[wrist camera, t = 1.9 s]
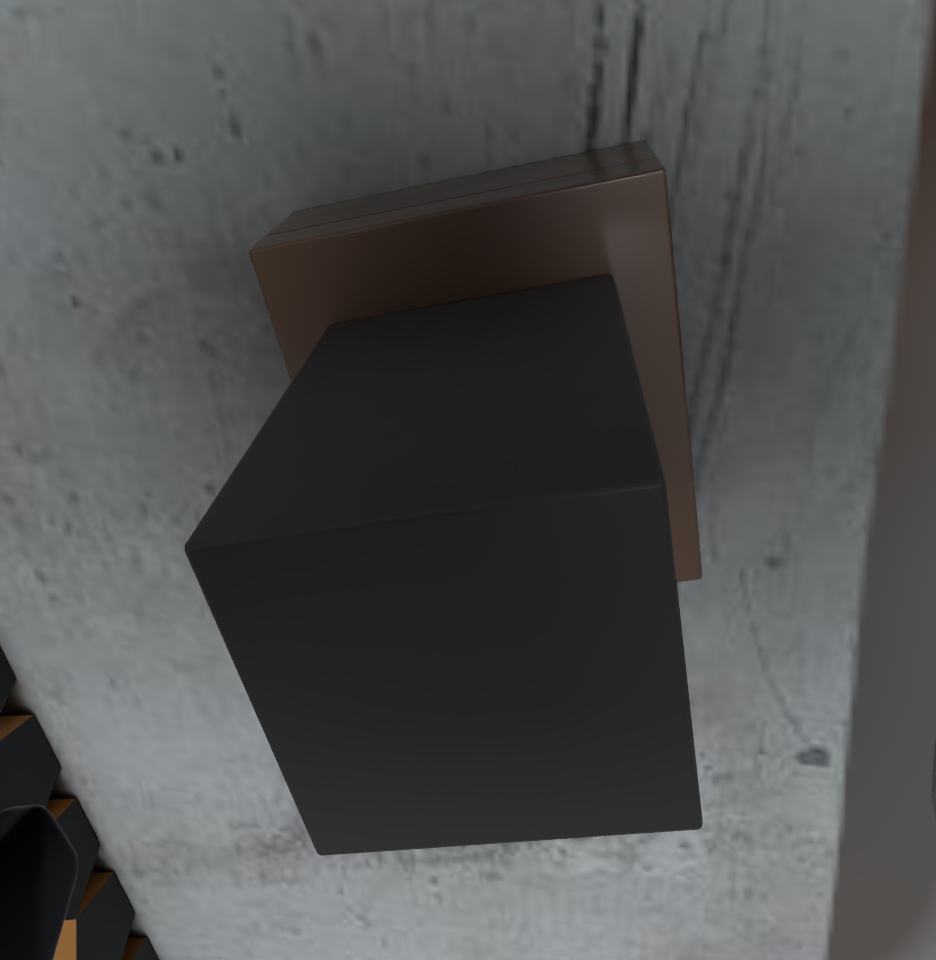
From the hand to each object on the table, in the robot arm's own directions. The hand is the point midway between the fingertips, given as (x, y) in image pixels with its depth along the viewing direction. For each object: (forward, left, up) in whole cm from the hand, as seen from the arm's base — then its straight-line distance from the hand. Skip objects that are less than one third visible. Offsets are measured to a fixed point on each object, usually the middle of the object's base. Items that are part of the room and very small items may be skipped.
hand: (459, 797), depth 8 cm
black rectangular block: (0, 0, -8) cm, 8 cm away
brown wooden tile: (0, 0, -11) cm, 11 cm away
